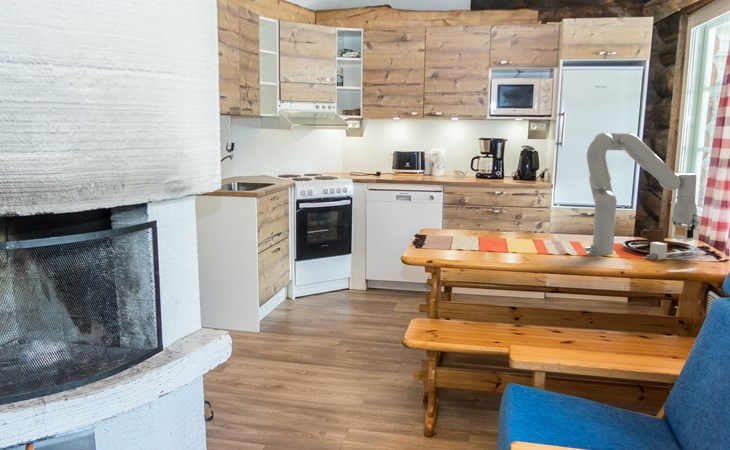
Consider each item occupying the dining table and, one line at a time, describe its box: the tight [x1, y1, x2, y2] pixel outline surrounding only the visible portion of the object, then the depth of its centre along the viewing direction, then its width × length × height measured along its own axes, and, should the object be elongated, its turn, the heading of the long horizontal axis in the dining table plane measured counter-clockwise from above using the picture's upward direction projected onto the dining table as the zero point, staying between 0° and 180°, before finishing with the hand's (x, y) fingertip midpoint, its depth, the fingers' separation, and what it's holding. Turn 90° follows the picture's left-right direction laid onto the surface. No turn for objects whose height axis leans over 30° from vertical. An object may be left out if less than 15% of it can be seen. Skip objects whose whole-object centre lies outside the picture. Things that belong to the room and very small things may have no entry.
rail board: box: [642, 250, 696, 261], centre depth 274 cm, size 26×7×3 cm, turn 107°
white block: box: [649, 242, 668, 260], centre depth 271 cm, size 5×6×7 cm
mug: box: [640, 227, 666, 246], centre depth 302 cm, size 12×8×9 cm, turn 83°
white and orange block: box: [675, 223, 694, 242], centre depth 274 cm, size 5×6×7 cm
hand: (684, 236), depth 274 cm, fingers closed on white and orange block, 6 cm apart
